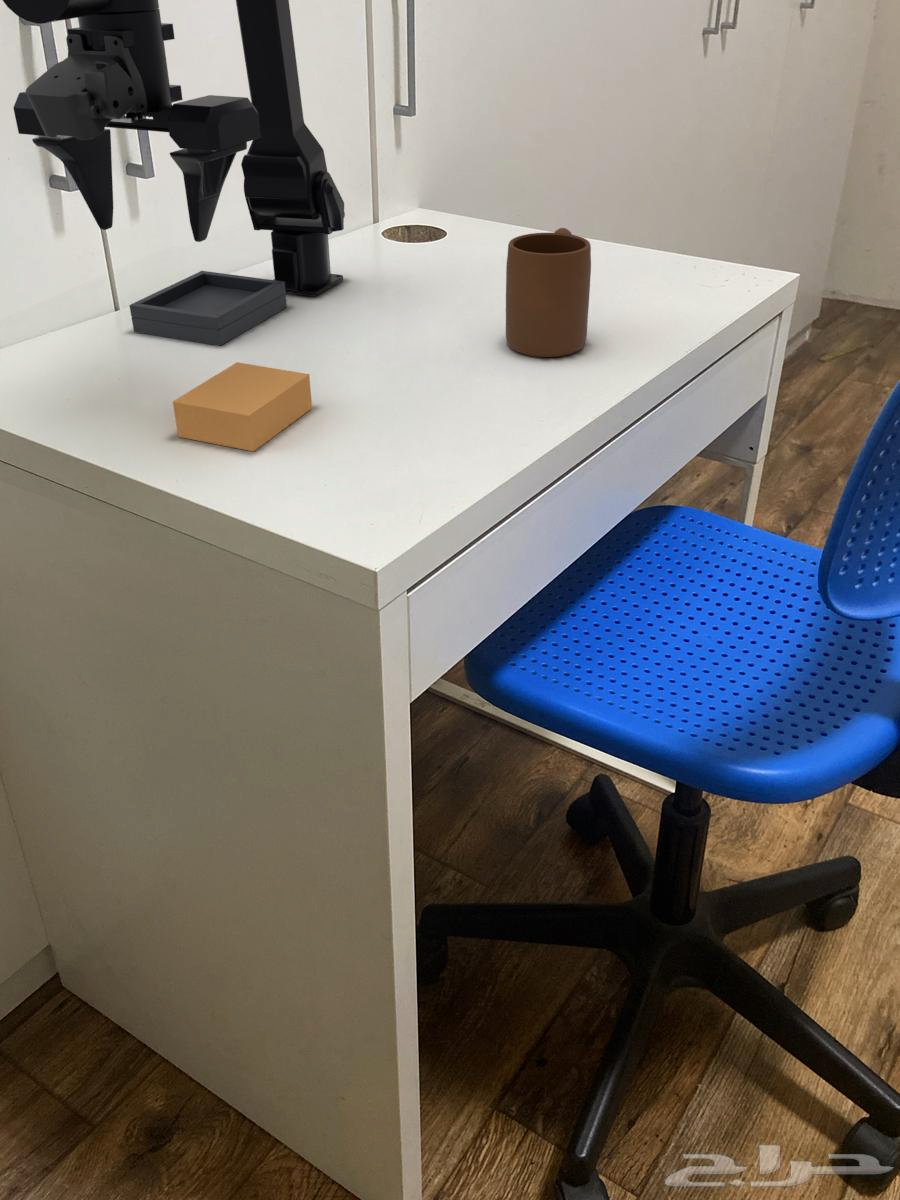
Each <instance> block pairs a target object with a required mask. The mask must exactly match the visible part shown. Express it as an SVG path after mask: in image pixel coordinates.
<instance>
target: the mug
mask: <svg viewBox="0 0 900 1200" xmlns="http://www.w3.org/2000/svg"><path fill="white" fill-rule="evenodd" d="M505 273H506V274H505V339H506V343H507V344H508V346H509V347H510V348H511V349H512V350H513V351H515V352H517V353H519V354H522V355H525V356H530V357H538V358H557V357H563V356H568V355H572V354H574V353H576V352H578V351H579V350H581V349H582V348H583V347H584V345H585V343H586V341H587V335H588V320H589V307H590V293H591V274H592V245H591V242H590V241H589V240H588V239H587V238H584V237H582V236H579V235H575V234H572V232H571V231H570V230H569V229H568V228H565V227H559V228H558V229H556V230H555V231H554V232H534V233H527V234H522V235H518V236H516V237H513V238H512V239H511V240H509V242H508V245H507V257H506V268H505Z"/></svg>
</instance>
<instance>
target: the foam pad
mask: <svg viewBox="0 0 900 1200" xmlns="http://www.w3.org/2000/svg"><path fill="white" fill-rule="evenodd" d="M310 379H311V378H310V374H309V373H304V372H298V371H292V370H288V369H287V370H286V369H279V368H275V367H268V366H262V365H256V364H250V363H244V362H235V363H233V364H232V365H230V366H228V367H226V368H225V369H223V370H222V371H220V372H218V373H216V374H215V375H213V376H212V377H210V378H209V379H207V380H205V381H204V382H202V383H201V384H199V385H197V386H195V387H194V388H193V389H191V390H189V391H188V392H186V393H184V394H182V395H181V396H179V397H177V398H175V399H174V400H173V401H172V406H173V407H172V408H173V413H174V418H175V425H176V432H177V437H178V438H183V439H189V440H192V441H193V440H194V441H198V442H203V443H208V444H213V445H218V446H224V447H228V448H233V449H239V450H243V451H244V450H245V451H249V452H255V451H256V450H257V449H259V448H260V447H262V446H263V445H264V444H266V443H267V442H268V441H270V440H271V439H272V438H274V437H275V436H277V435H278V434H280V432H282V431H283V430H285V429H286V428H287V427H289V426H290V425H291V424H293V423H295V422H296V421H297V420H298V419H299V418H302V416H303V415H305V414H306V413H308V412H309V411H311V410H312V409H313V401H312V390H311V380H310Z"/></svg>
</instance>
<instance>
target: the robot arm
mask: <svg viewBox="0 0 900 1200" xmlns="http://www.w3.org/2000/svg"><path fill="white" fill-rule="evenodd" d="M2 2H3V3H4V4H5V5H6V7H7V8H8V9H9V10H10V11H11V12H12V13H13V14H14V15H16V16H18V17H19V18H21V19H22V20H24V21H26V22H29V23H33V24H38V25H39V24H41V25H43V24H49V23H55V22H61V21H66V20H72V19H77V22H78V27H72V28H67V35H66V38H65V41H66V46H67V57H66V58H64V59H63V60H61V61H59V62H57V63H55V64H54V65H53V66H51V67H50V68H48V70H46V71H45V72H44V73H43V74H41V75H40V76H39V77H38V78H37V79H36V80H34V81H33V82H32V83H31V84H30V85H28V86H27V88H25V91H21V92H19V93H18V95H17V97H16V99H15V102H14V105H13V107H12V108H13V112H14V118H15V122H16V123H15V124H16V128H17V132H18V134H19V135H28V136H29V135H30V136H37V137H34V138H32V139H31V141H32V143H33V144H34V145H35V146H36V147H39V148H43V149H45V150H46V151H48V152H49V153H51V155H53V156H54V157H56V158H57V159H59V160H60V161H61V162H62V164H63V165H64V167H65V168H66V170H67V171H68V174H69V176H70V177H71V178H72V179H73V181H74V183H75V185H76V187H77V189H78V191H79V193H80V194H81V196H82V198H83V200H84V202H85V204H86V205H87V207H88V209H89V211H90V213H91V214H92V216H93V219H94V221H95V223H96V224H97V226H98V228H99V229H100V230H104V231H106V230H109V229H112V228H113V223H114V186H113V163H112V162H113V161H112V160H113V159H112V136H111V134H112V132H111V129H110V128H112V129H123V130H134V131H135V130H136V131H147V132H148V131H149V132H158V133H159V132H160V133H168V136H169V138H170V139H172V141H173V142H174V143H175V144H176V145H177V147H178V148H179V149H178V150H174V151H171V152H169V156H170V157H171V158H172V160H173V162H175V164H176V165H177V166H178V168H179V169H180V171H181V173H182V176H183V182H184V189H185V197H186V205H187V211H188V218H189V224H190V229H191V232H192V236H193V240H194V241H195V242H196V243H201V242H204V241H205V240H207V239H208V235H209V232H210V229H211V225H212V222H213V219H214V216H215V213H216V209H217V206H218V203H219V200H220V196H221V193H222V190H223V187H224V185H225V182H226V178H227V177H228V174H229V172H230V169H231V168H232V165H233V163H234V160H235V158H236V156H237V154H238V153H239V152H242V151H245V150H247V149H248V148H249V149H248V150H247V153H246V154H244V155H243V157H242V159H241V162H240V163H241V165H240V166H241V170H242V174H243V193H244V198H245V201H246V205H247V209H248V213H249V216H250V220H251V224H252V227H253V230H254V231H271V232H270V239H271V246H272V247H271V256H272V267H273V276H274V279H272V280H276V281H284V282H285V293H288V294H294V295H295V294H296V295H302V296H310V297H317V296H319V295H320V294H322V293H324V292H326V291H328V290H329V289H330V288H332V287H334V286H336V285H337V284H339V283H341V282H342V281H344V275H343V274H336V273H332V271H331V259H330V244H329V235H332V234H333V233H334V232H340V231H341V232H342V231H343V230H344V229H345V226H344V223H345V221H344V219H345V216H346V212H345V201H344V200H343V197H342V196H341V193H340V191H339V190H338V187H337V185H336V183H335V181H334V179H333V177H332V175H331V174H330V172H328V168H327V167H328V166H327V162H326V156H325V150H324V147H322V145H321V143H319V141H318V139H317V138H316V137H315V136H314V134H313V133H312V131H311V130H310V128H309V127H308V126H307V125H306V123H305V119H304V112H303V111H304V110H303V103H302V97H301V88H300V78H299V71H298V63H297V56H296V48H295V47H296V46H295V39H294V32H293V31H294V30H293V24H292V23H293V22H292V15H291V7H290V0H235V4H236V10H237V17H238V23H239V30H240V37H241V43H242V44H241V45H242V49H243V50H242V51H243V54H244V55H243V57H244V63H245V70H246V76H247V83H248V90H249V95H250V96H249V97H250V99H249V97H244V96H243V97H242V96H231V95H230V96H229V95H228V96H227V95H214V94H208V95H205V96H204V95H203V96H200V97H197V98H191V99H188V100H184V99H183V93H182V91H183V90H182V86H181V84H170V78H169V69H168V63H167V55H166V48H165V42H166V41H171V40H175V32H174V31H175V30H174V24H173V23H164V22H162V18H161V10H160V4H159V0H2ZM183 100H184V101H183ZM147 117H148V118H147ZM248 142H251V143H250V146H249V147H248V144H247V143H248Z"/></svg>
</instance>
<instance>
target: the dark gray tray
mask: <svg viewBox="0 0 900 1200" xmlns="http://www.w3.org/2000/svg"><path fill="white" fill-rule="evenodd" d="M286 308H288V305H287V294H286V292H285V282H284V281H276V280H273V279H269V278H261V277H253V276H247V275H245V276H244V275H237V274H231V273H223V272H215V271H209V270H208V271H207V270H200V271H198V272H195V273H194V274H192V275H189V276H188V277H186V278H183V279H181V280H179V281H176V282H175V283H172V284H171V285H169V286H166V287H165V288H161V289H160V290H157V291H156V292H154V293H152V294H150V295H147V296H145V297H144V298H141V299H139V300H137V301H135V302H133V303H131V304H129V311H130V317H131V323H132V329H133V332H134V333H138V334H144V335H150V336H151V335H152V336H157V337H164V338H170V339H176V340H182V341H188V342H195V343H202V344H206V345H207V344H208V345H214V346H221V347H222V346H223V345H225V344H226V343H228V342H230V341H231V340H233V339H235V338H236V337H239V336H240V335H242V334H243V333H245V332H247V331H248V330H250V329H252V328H255V326H257V325H259V324H260V323H262V322H264V321H266V320H268V319H269V318H271V317H272V316H275V315H276V314H278V313H280V312H282V311H283V310H285V309H286Z"/></svg>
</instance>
